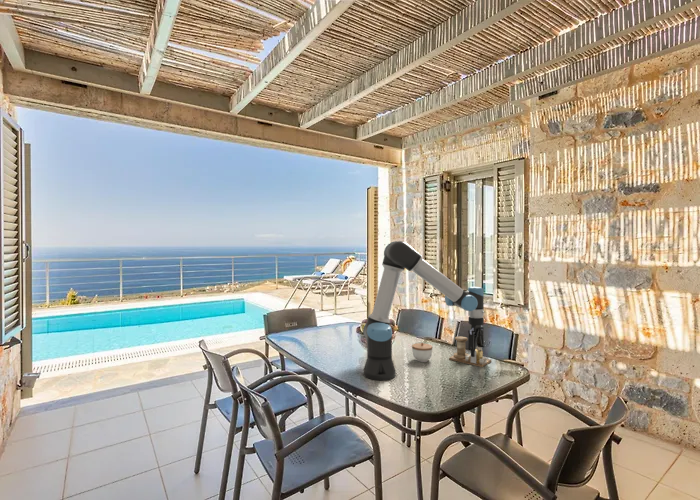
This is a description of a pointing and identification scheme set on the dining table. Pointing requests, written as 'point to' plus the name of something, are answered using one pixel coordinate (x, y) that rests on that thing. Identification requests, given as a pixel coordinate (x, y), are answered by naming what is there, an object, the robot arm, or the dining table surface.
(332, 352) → the dining table surface
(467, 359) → the board
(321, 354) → the dining table surface
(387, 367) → the robot arm
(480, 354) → the tab
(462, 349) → the bobbin
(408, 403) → the dining table surface
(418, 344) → the lidded jar
